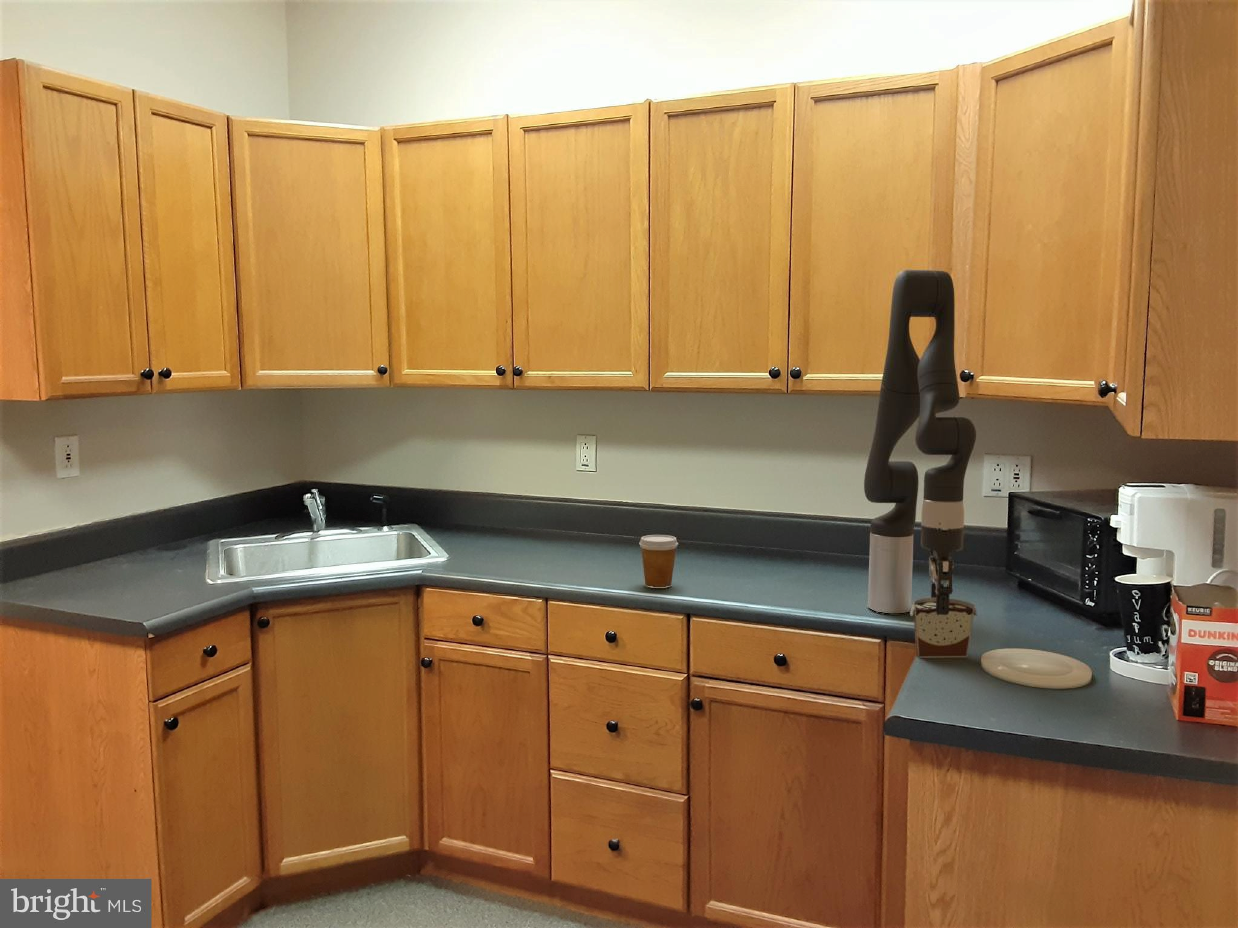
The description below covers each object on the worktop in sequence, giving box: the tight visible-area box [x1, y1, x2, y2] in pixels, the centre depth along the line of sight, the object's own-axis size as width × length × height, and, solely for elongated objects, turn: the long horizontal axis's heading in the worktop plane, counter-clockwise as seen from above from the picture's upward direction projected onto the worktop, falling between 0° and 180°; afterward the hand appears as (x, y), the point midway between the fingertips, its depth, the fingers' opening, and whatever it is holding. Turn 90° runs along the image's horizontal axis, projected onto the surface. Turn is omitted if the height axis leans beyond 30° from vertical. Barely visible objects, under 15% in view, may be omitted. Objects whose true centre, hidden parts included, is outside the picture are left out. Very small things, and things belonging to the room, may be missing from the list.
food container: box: [909, 597, 978, 659], centre depth 173 cm, size 12×6×10 cm, turn 92°
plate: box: [980, 648, 1093, 690], centre depth 163 cm, size 18×18×1 cm
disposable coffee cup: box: [638, 534, 679, 587], centre depth 223 cm, size 10×10×12 cm
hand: (939, 608), depth 172 cm, fingers open, 8 cm apart
